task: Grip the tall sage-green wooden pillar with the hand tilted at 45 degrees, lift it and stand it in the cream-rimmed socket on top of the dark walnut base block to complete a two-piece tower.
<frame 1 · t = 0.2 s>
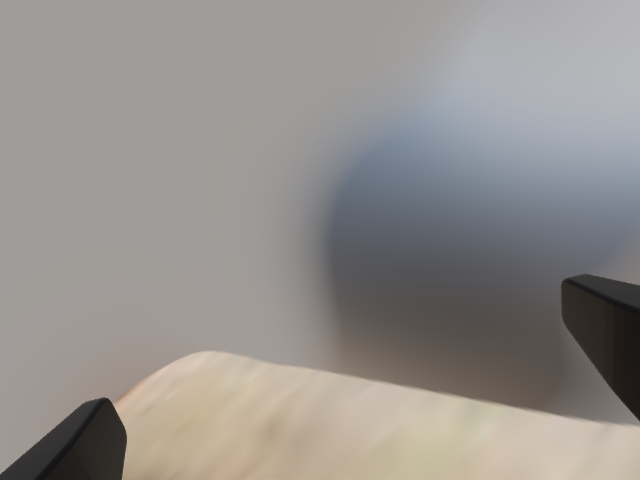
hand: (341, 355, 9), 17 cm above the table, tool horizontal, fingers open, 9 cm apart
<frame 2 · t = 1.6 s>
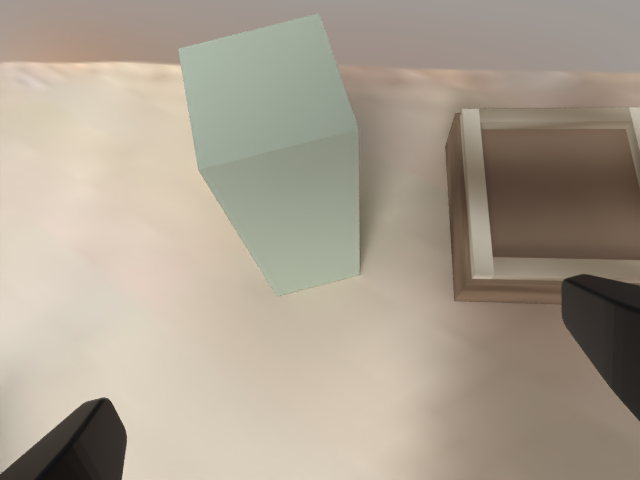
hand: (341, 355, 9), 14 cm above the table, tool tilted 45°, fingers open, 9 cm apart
walnut base block: (537, 219, 24), on the table
sage pillar: (308, 247, 25), on the table
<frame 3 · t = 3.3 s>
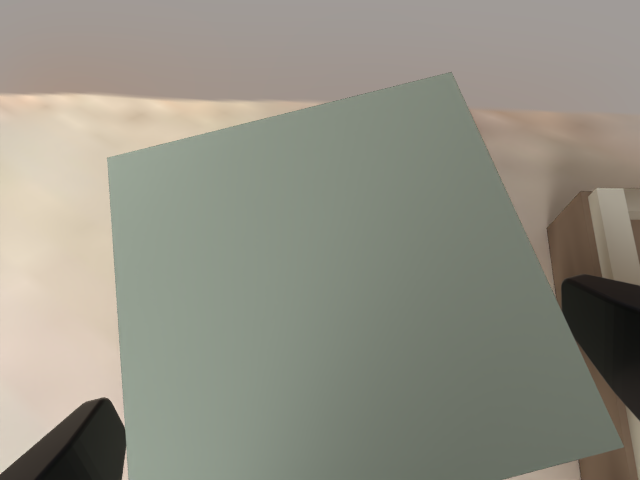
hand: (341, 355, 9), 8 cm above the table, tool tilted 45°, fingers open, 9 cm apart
sage pillar: (349, 386, 16), on the table
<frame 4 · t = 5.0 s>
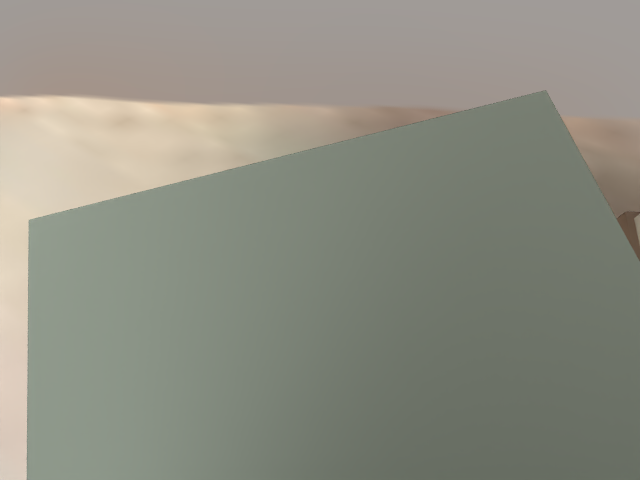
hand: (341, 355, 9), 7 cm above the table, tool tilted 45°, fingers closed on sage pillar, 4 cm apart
sage pillar: (359, 430, 15), on the table, touching gripper
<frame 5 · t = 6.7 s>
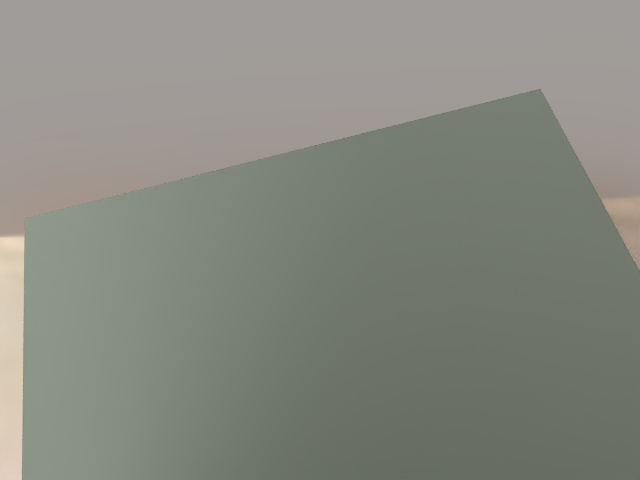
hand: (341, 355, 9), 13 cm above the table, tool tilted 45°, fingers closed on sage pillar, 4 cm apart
sage pillar: (358, 429, 15), point 7 cm above the table, touching gripper
when the fingers open (10 cm above the table, at t = 8.6 s): sage pillar stays where it is, resting on walnut base block.
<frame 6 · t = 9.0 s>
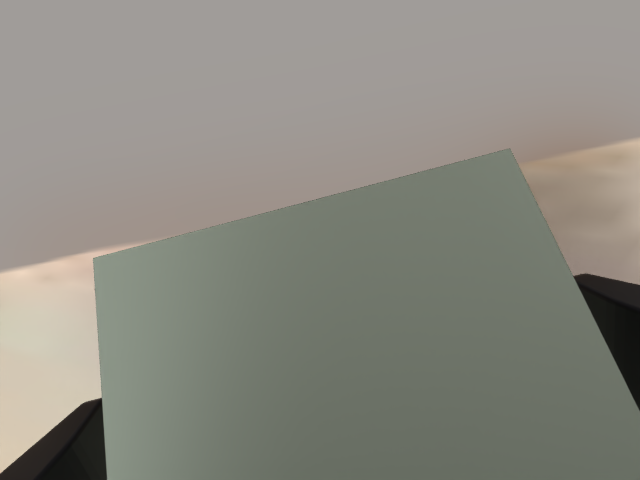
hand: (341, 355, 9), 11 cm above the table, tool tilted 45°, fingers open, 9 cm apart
sage pillar: (360, 428, 15), point 3 cm above the table, touching walnut base block
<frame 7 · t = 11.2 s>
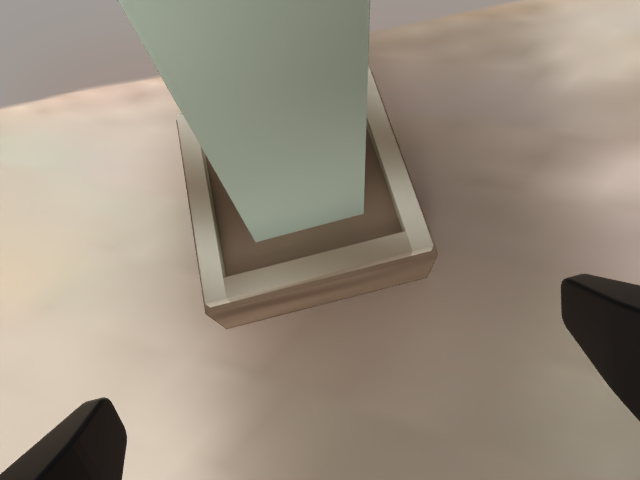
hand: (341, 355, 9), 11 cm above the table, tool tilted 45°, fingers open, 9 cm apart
walnut base block: (304, 212, 22), on the table
sage pillar: (297, 180, 19), point 3 cm above the table, touching walnut base block
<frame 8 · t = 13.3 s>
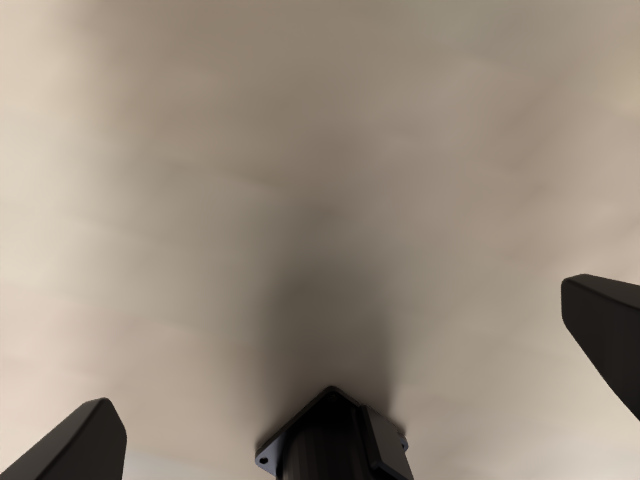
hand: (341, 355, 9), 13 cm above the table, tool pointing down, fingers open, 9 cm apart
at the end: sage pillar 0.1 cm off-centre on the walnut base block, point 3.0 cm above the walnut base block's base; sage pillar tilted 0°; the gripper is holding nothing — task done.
